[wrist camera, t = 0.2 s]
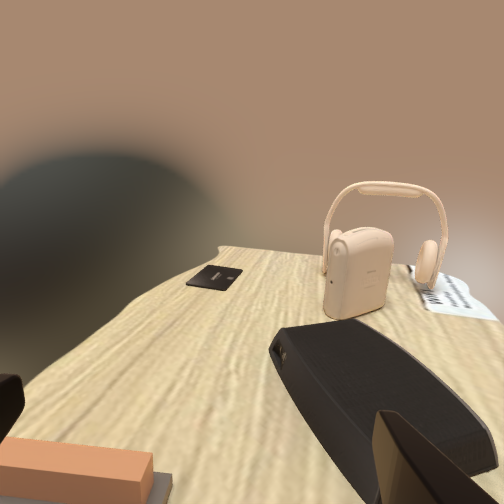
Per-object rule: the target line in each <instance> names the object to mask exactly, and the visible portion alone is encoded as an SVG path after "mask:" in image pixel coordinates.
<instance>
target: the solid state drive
mask: <svg viewBox="0 0 504 504" xmlns="http://www.w3.org/2000/svg"><path fill="white" fill-rule="evenodd" d="M242 272H243V270H242V269H235V268H228V267H221V266H214V265H207V266H206V267H205V268H204V269H202V270H201V271H200V272H199V273H197V274H196V275H195V276H194V277H193V278H191V279H190V280H189V281H188V282H186V285H188V286H195V287H201V288H208V289H214V290H215V289H216V290H220V291H226V290H227V289H228V288H229V287H230V285H231V284H232V283H233V282H234V281H235V280H236V278H237V277H238V276H239V275H240V274H241V273H242Z"/></svg>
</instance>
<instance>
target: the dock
mask: <svg viewBox="0 0 504 504" xmlns="http://www.w3.org/2000/svg"><path fill="white" fill-rule="evenodd" d="M171 488H172V474H169V473H160V472H153V454H152V453H149V452H140V451H131V450H122V449H113V448H104V447H95V446H86V445H77V444H68V443H59V442H50V441H41V440H32V439H23V438H14V437H5V438H4V440H3V441H2V443H1V444H0V504H166V503H167V500H168V497H169V494H170V491H171Z"/></svg>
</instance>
